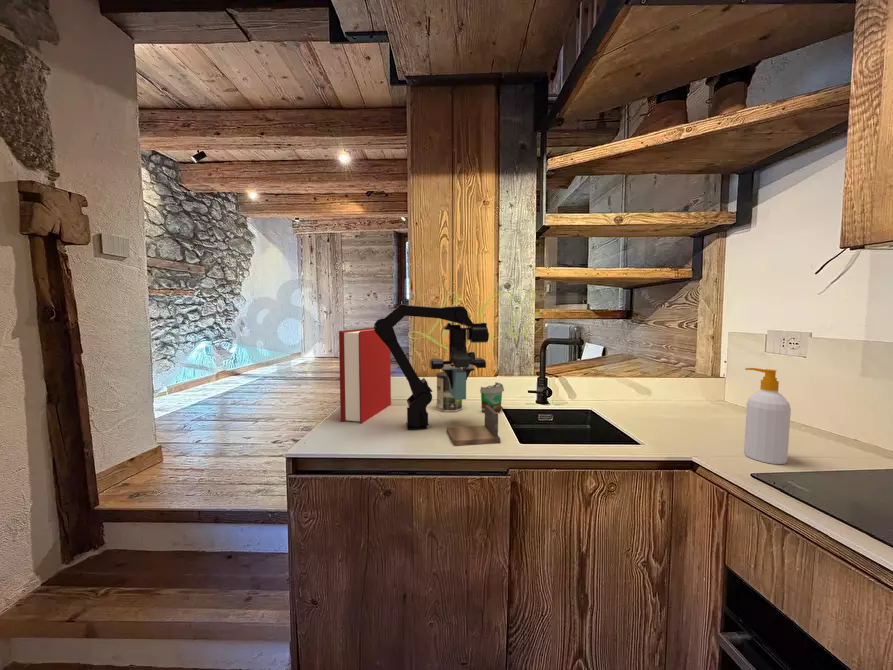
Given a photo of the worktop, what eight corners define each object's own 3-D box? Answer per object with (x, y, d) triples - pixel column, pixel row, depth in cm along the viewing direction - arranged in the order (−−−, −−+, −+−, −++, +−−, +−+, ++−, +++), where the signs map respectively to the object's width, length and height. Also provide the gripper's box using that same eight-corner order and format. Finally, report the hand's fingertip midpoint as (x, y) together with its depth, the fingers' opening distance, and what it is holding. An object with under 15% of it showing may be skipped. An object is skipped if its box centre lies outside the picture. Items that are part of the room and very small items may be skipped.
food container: (493, 415, 132) (494, 389, 132) (479, 412, 136) (480, 387, 135) (509, 408, 142) (509, 383, 142) (495, 406, 146) (496, 382, 145)
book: (361, 423, 123) (360, 331, 121) (340, 422, 125) (338, 330, 122) (392, 403, 149) (391, 327, 147) (374, 402, 151) (373, 327, 149)
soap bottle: (741, 448, 102) (746, 365, 100) (787, 457, 95) (793, 369, 93) (738, 457, 95) (743, 369, 94) (787, 467, 89) (793, 373, 87)
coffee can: (467, 407, 144) (467, 373, 143) (453, 413, 135) (453, 377, 134) (445, 403, 149) (445, 370, 148) (431, 409, 141) (431, 374, 140)
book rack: (453, 445, 103) (453, 417, 102) (446, 432, 115) (446, 406, 114) (500, 442, 105) (500, 414, 105) (488, 429, 117) (488, 404, 116)
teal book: (455, 399, 116) (455, 372, 116) (449, 392, 127) (449, 367, 126) (466, 399, 117) (466, 372, 116) (458, 391, 128) (458, 367, 127)
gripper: (433, 345, 111) (433, 394, 112) (491, 344, 115) (490, 392, 116) (429, 342, 122) (429, 387, 123) (481, 341, 125) (481, 385, 127)
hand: (457, 388), depth 122 cm, fingers closed on teal book, 3 cm apart
